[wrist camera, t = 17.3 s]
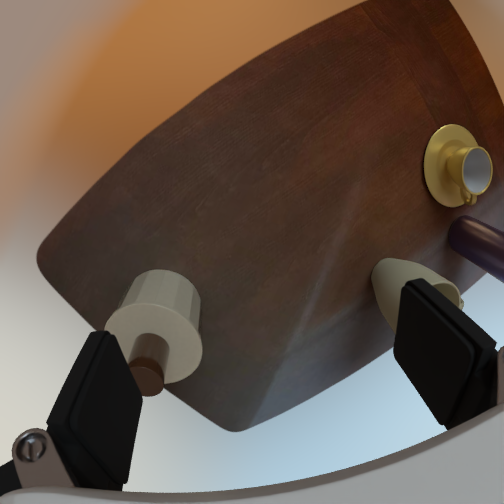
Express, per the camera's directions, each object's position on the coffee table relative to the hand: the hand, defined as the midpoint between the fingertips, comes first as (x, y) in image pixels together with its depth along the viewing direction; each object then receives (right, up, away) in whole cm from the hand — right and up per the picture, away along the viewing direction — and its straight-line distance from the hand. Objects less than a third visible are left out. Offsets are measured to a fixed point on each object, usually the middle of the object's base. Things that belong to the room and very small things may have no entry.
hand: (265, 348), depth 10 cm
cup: (+28, +15, +28) cm, 42 cm away
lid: (-11, -7, +23) cm, 26 cm away
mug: (+19, 0, +33) cm, 38 cm away
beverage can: (+31, +6, +32) cm, 45 cm away
